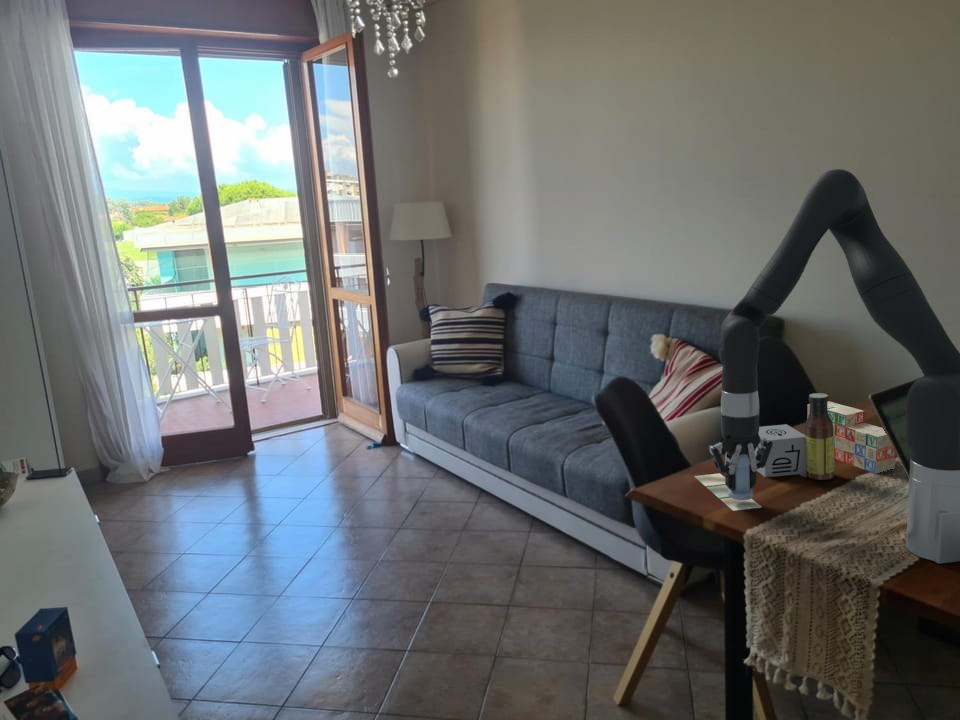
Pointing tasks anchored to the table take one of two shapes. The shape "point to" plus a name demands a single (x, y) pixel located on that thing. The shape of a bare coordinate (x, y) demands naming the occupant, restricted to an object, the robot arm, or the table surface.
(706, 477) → the board
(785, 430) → the icon cube
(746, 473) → the pawn
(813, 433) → the sauce bottle
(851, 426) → the stack of blocks
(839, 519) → the table surface
